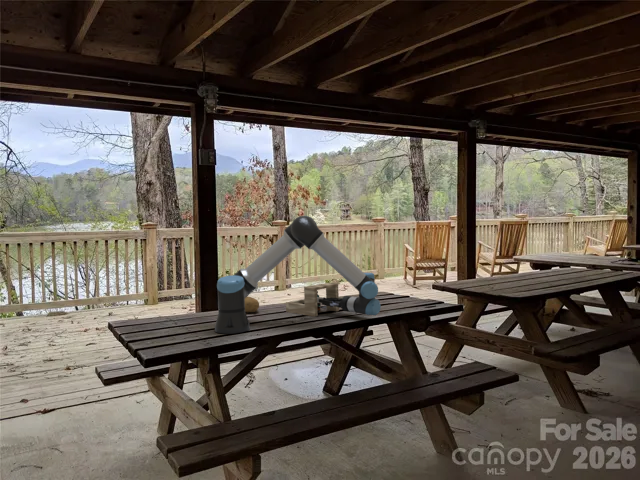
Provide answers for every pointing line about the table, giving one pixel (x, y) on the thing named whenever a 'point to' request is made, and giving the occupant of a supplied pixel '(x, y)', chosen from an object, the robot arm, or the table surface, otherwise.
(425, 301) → the table surface
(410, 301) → the table surface
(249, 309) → the potato
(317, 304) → the binoculars
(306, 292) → the tunnel
